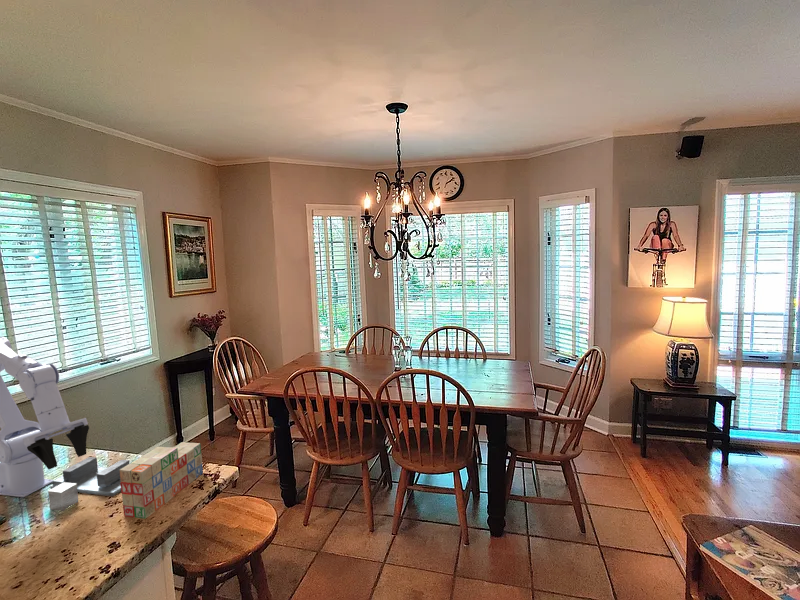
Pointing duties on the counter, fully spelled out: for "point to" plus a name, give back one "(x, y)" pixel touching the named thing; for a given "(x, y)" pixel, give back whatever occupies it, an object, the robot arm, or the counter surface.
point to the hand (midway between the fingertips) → (68, 461)
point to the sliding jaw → (111, 473)
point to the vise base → (87, 478)
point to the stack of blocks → (158, 477)
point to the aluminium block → (63, 496)
